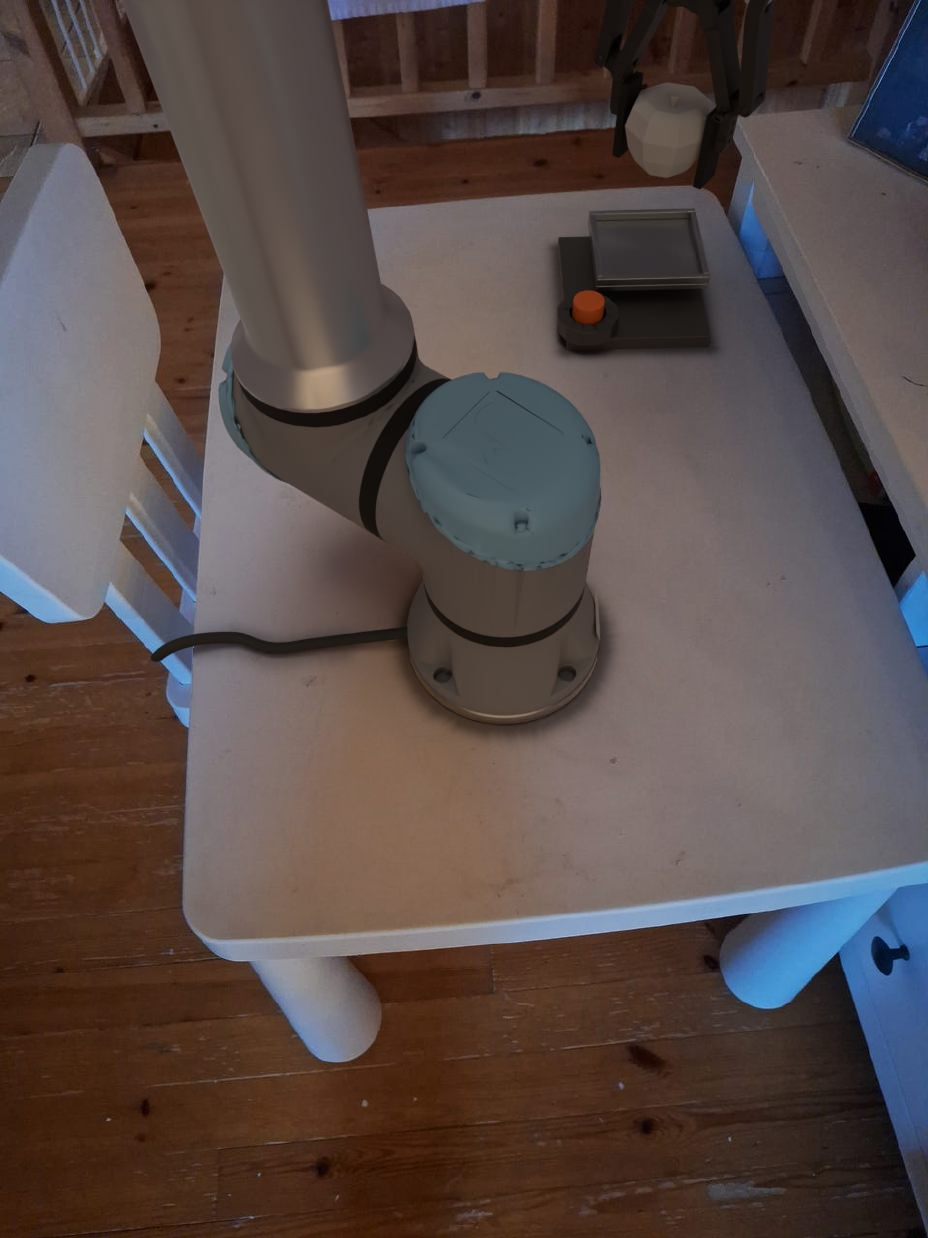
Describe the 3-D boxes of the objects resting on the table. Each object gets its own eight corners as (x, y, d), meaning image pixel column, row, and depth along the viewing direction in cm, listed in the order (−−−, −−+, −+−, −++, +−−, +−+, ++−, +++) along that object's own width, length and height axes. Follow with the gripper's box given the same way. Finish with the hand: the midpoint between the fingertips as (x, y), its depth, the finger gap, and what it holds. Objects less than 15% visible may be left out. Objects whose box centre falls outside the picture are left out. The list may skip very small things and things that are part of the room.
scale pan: (595, 291, 89) (597, 279, 88) (587, 222, 95) (589, 210, 94) (707, 288, 89) (710, 276, 88) (692, 219, 95) (695, 207, 94)
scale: (557, 357, 89) (559, 333, 86) (548, 248, 98) (550, 223, 95) (709, 354, 89) (716, 329, 86) (687, 244, 97) (692, 219, 95)
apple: (698, 139, 86) (712, 67, 80) (713, 189, 82) (729, 117, 76) (614, 144, 86) (622, 73, 80) (625, 194, 82) (634, 122, 76)
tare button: (573, 325, 87) (574, 311, 86) (571, 305, 89) (572, 290, 87) (604, 325, 87) (606, 310, 86) (601, 304, 89) (603, 289, 87)
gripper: (562, -153, 66) (547, 147, 86) (825, -85, 59) (744, 225, 79) (617, -187, 69) (590, 111, 89) (873, -126, 62) (783, 182, 82)
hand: (662, 164), depth 84 cm, fingers closed on apple, 8 cm apart
